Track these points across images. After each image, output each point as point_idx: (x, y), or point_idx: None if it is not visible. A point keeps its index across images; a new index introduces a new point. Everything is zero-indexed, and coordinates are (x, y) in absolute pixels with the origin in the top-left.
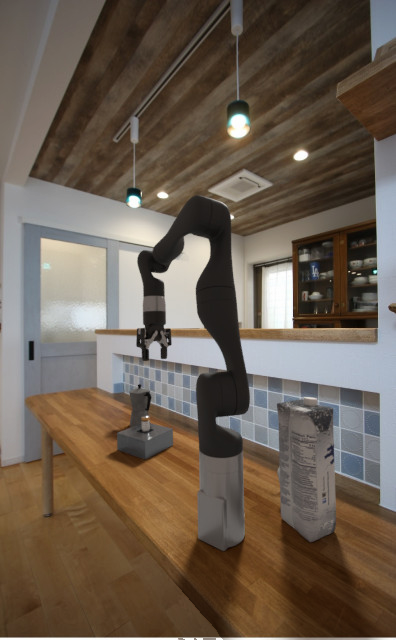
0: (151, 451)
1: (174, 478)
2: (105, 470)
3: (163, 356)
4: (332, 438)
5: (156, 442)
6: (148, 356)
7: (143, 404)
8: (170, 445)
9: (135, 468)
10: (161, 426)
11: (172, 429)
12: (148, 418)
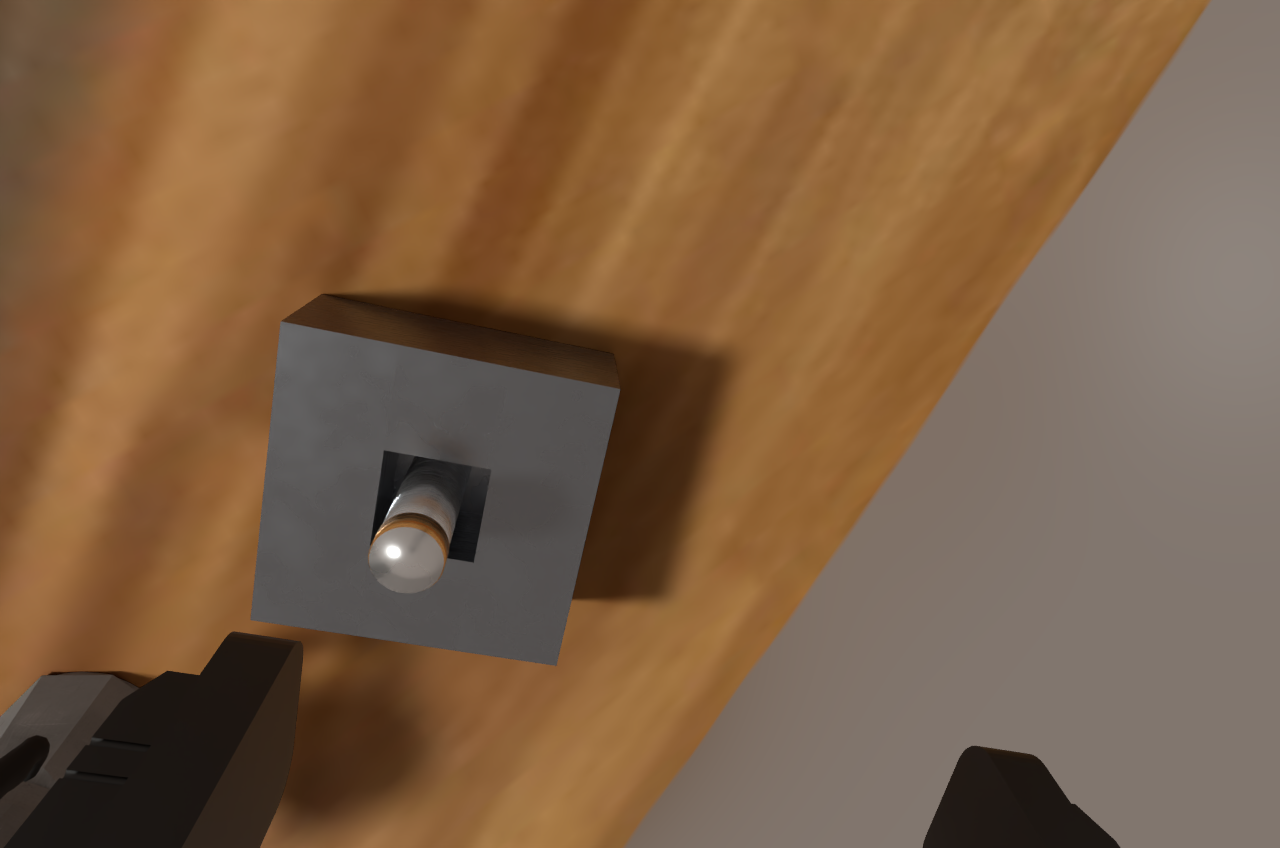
0: (556, 350)
1: (772, 37)
2: (809, 488)
3: (269, 745)
4: None
5: (499, 351)
6: (1053, 820)
7: (7, 826)
8: (351, 302)
9: (735, 344)
10: (281, 441)
11: (289, 320)
12: (412, 523)
